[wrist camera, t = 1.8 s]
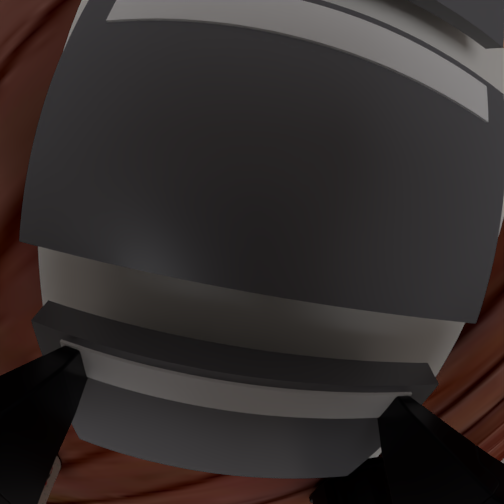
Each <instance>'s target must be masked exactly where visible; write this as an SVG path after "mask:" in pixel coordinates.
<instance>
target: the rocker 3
mask: <svg viewBox="0 0 504 504" xmlns="http://www.w3.org/2000/svg"><path fill="white" fill-rule="evenodd" d="M407 1H409V2H411V3H413V4H415V5H417V6H419V7H421V8H423V9H425V10H427V11H428V12H430V13H432V14H434V15H435V16H437V17H439V18H441V19H442V20H444V21H446V22H447V23H449V24H450V25H452V26H454V27H455V28H457V29H458V30H460V31H461V32H463V33H464V34H466V35H467V36H469V37H470V38H471V39H473V40H474V41H476V42H477V43H478V44H480V45H481V46H482V47H484V48H485V49H491V48H503V44H504V0H407Z"/></svg>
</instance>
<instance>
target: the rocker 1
mask: <svg viewBox="0 0 504 504" xmlns="http://www.w3.org/2000/svg"><path fill="white" fill-rule="evenodd" d="M503 197H504V94H503V93H501V92H500V91H499V90H498V89H496V88H495V87H494V86H492V85H491V84H490V83H489V82H487V81H486V80H484V79H483V78H482V77H480V76H479V75H477V74H476V73H475V72H473V71H472V70H470V69H469V68H467V67H466V66H464V65H463V64H461V63H460V62H458V61H456V60H455V59H453V58H452V57H450V56H448V55H447V54H445V53H443V52H442V51H440V50H438V49H436V48H435V47H433V46H431V45H429V44H427V43H426V42H424V41H422V40H420V39H418V38H416V37H414V36H412V35H410V34H408V33H406V32H404V31H402V30H400V29H398V28H395V27H393V26H391V25H389V24H386V23H384V22H382V21H379V20H377V19H375V18H372V17H370V16H367V15H364V14H362V13H359V12H356V11H354V10H351V9H348V8H345V7H342V6H339V5H336V4H333V3H330V2H326V1H323V0H89V1H88V2H87V4H86V6H85V8H84V10H83V11H82V13H81V15H80V17H79V19H78V21H77V23H76V25H75V27H74V29H73V31H72V33H71V35H70V37H69V40H68V42H67V44H66V46H65V49H64V51H63V53H62V56H61V58H60V60H59V63H58V65H57V68H56V71H55V73H54V76H53V79H52V81H51V84H50V87H49V90H48V93H47V96H46V99H45V102H44V105H43V109H42V112H41V116H40V119H39V123H38V126H37V130H36V134H35V138H34V142H33V147H32V151H31V156H30V161H29V166H28V172H27V177H26V183H25V190H24V197H23V205H22V214H21V225H20V238H19V241H20V242H24V243H28V244H32V245H35V246H39V247H43V248H47V249H51V250H55V251H59V252H63V253H67V254H71V255H75V256H79V257H83V258H87V259H92V260H96V261H100V262H104V263H109V264H113V265H117V266H122V267H126V268H131V269H135V270H140V271H145V272H149V273H154V274H159V275H163V276H168V277H173V278H178V279H183V280H188V281H193V282H198V283H203V284H208V285H213V286H219V287H224V288H229V289H235V290H240V291H246V292H251V293H257V294H263V295H268V296H274V297H280V298H286V299H292V300H298V301H304V302H311V303H317V304H324V305H330V306H337V307H344V308H350V309H357V310H365V311H372V312H379V313H387V314H395V315H403V316H411V317H419V318H428V319H437V320H446V321H456V322H466V323H476V322H477V319H478V316H479V313H480V309H481V306H482V303H483V299H484V296H485V292H486V289H487V285H488V281H489V277H490V273H491V269H492V265H493V260H494V255H495V250H496V245H497V240H498V234H499V228H500V221H501V214H502V206H503Z"/></svg>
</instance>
